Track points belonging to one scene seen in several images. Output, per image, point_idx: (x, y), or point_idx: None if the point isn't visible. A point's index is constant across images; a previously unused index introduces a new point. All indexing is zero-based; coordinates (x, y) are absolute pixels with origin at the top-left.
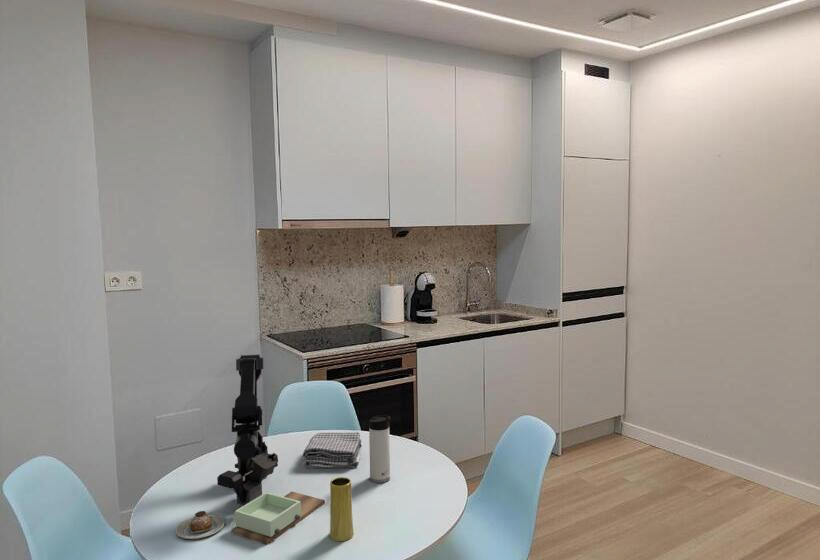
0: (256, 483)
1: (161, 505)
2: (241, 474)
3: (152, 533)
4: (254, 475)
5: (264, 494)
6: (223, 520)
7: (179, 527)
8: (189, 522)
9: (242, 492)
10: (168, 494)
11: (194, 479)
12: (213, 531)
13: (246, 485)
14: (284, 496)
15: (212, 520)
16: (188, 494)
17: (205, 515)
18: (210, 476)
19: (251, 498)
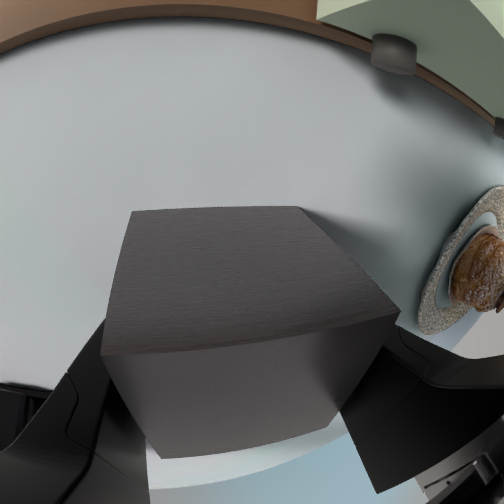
0: (163, 401)
1: (341, 426)
2: (474, 501)
3: (459, 332)
4: (130, 497)
5: (493, 8)
6: (462, 225)
7: (464, 310)
8: (442, 318)
9: (409, 333)
10: (285, 453)
11: (187, 473)
12: (496, 203)
13: (277, 418)
14: (22, 25)
15: (442, 272)
16: (268, 444)
17: (501, 282)
18: (147, 469)
19: (311, 243)
